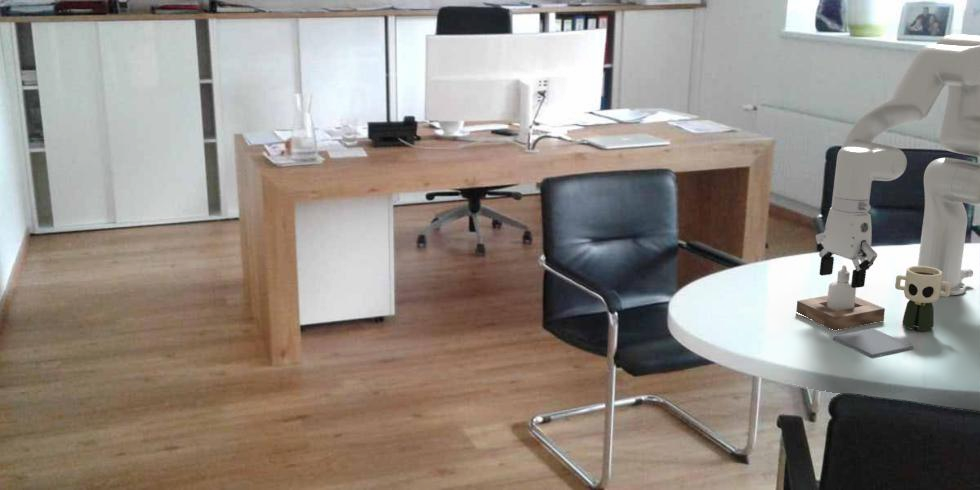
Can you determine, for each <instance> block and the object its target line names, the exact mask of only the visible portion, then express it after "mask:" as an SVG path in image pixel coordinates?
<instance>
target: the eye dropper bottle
mask: <svg viewBox="0 0 980 490" xmlns="http://www.w3.org/2000/svg"><path fill="white" fill-rule="evenodd" d="M850 273H851V272H850V271H848V269H847V265H842V268H841V270H840V269H839V271H837V279H836V281H833V282H831V283H829V286H828V292H827V296H828V300H827V307H828V308H831V309H833V310H835V311H839V310H845V309H850V308H854V304H855V297H856V294H857V293H856V292H857V288H852V287H851V282H852V281H850Z"/></svg>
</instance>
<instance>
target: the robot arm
mask: <svg viewBox="0 0 980 490" xmlns="http://www.w3.org/2000/svg"><path fill="white" fill-rule="evenodd" d="M945 86H947V87H948V88H947V89H948V92H947V100H946V105H945V109H944V113H943V118H942V119H943V120H942V124H941V128H940V135H939V143H940V146H941V147H942V148H943V149H944V150H946V151H948V152H951V153H956V154H961V155H965V156H972V157H977V158H980V35H972V34H971V35H970V34H948V35H944V36H942V37H940V38H939V39H938V40H937V42H936V44H929V45H926V46H923V47H922V48H920V49H919V50H918V51H917V52H916V54H915V55H914V57H913V59H912V60H911V62H910V64H909V66H908V68H907V69H906V71H905V73H904V75H903V76H902V77H901V79H900V82H899V83H898V85H897V86H896V89H895V90H894V91H893V93H892V95H891V97H890V98H889V99H888V100H886V101H884V102H882V103H880V104H878V105H877V106H875V107H874V108H872V109H871V110H869V111H868V112H866V113H865V114H864V115H863V116H862V117H860V118H859V119H858V120H857V121H856V122H855V124H854V125H853V126H852V127H851V128H850V130H849V133H847V136H846V137H845V139H844V141H843V143H842V145H841V148H840V149H839V150H838V152H837V156H836V163H835V164H836V165H835V173H834V181H833V191H832V200H831V207H830V208H829V211H828V214H827V217H826V223H825V225H824V231H823V232H820V233H817V234H816V235H815V240H816V244H817V245H816V247H817V249H818V252H819V254H818V255H819V257H820V265H819V266H820V267H819V272H818V273H819V275H820V276H822V277H823V276H829V275H832V274H833V269H834V261H835V257H834V256H833V255H836V256H839V257H840V258H844V259H847V260H850V261H852V264H853V266H854V268H855V269H853V270H852V276H851V281H850V282H851V287H852V288H856V289H858V288H864V287H865V283H866V277H867V276H866V274H867V270H869V269H870V267H871V266H873V264H874V262H875V261H876V259H877V257H878V253H877V252H876V251H875V250H874V249H873V248H872V233H873V232H872V230H873V229H872V227H873V226H872V218H871V216H872V215H871V214H870V213H869V211H871V207H872V206H871V205H870V199H871V189H872V182H873V181H882V182H890V181H894V180H896V179H898V178H899V177H901V176H902V175H903V174H904V172H905V171H906V168H907V165H908V161H907V157H906V154H905V153H904V152H903V151H902V149H899V148H898V147H895V146H891V145H886V144H881V143H877V142H876V143H875V142H873V141H874V140H875V139H876V138H878V136H880V135H881V134H882V133H884V132H886V131H888V130H891V129H894V128H897V127H901V126H904V125H908V124H911V123H915V122H919V121H921V120H923V119H925V118H926V117H927V116H928V115H929V113H930V112H931V109H932V107H933V106H934V104H935V102H936V101H937V98H938V97H939V95H940V93H941V92H942V90H943V89H944V87H945ZM923 188H924V190H923V191H924V210H923V211H924V213H923V219H922V220H923V222H922V227H921V228H922V229H921V235H920V246H919V253H918V260H917V261H918V263H917V266H926V267H932V268H936V269H939V270H940V271H942V281H945V282H949V283H950V284H951V288H950V295H949V296H959V295H962V294H963V293H965V292H966V288H967V285H966V284H965V283H963V280H964V279H965V278H971V277H973V276H974V271H973V270H972V269H971V268H970V269H969V268H967V269H962V265H963V256H964V248H965V242H966V235H967V234H966V233H967V226H968V214H967V210H966V208H965V205H964V204H968V205H973V206H978V207H980V162H976V161H975V162H974V161H969V160H964V159H959V158H951V157H940V158H936V159H934V160H932V161H931V162H930V163H929V164H928V165H927V166H926V168H925V170H924V174H923ZM945 288H946V286H942V285H941V289H940V292H945Z"/></svg>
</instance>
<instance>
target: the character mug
mask: <svg viewBox="0 0 980 490" xmlns="http://www.w3.org/2000/svg"><path fill="white" fill-rule="evenodd" d="M905 272H906V273H905V275H902V274H897V275H896V276H895V285H894V287H895V289H896V290H900V291H903V293H904V297H905V298H906V299H907V300H908V301H907V303H906V305H905V306H906V307H905V309H904V313H903V317H902V321H901V322H902V326H904V327H905V328H907V329H910V330H914V328H915V327H917V331H929V330H932V329H933V328H934V327H935V326H934V325H935V320H934V319H935V318H934V316H935V311H934V305H933V303H936V302H937V301H938V300H939V299H940V297H944V298H948V297H950V296H951V295H950V288H951V284H950V283H949V282H945V281H942V271H940V270H939V269H936V268H932V267H926V266H918V265H913V266H908V267H907V268H906V271H905ZM902 280H904V285H901V281H902ZM941 285H942V286H946V288H945V292H940V289H941Z"/></svg>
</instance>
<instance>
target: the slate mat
mask: <svg viewBox="0 0 980 490" xmlns="http://www.w3.org/2000/svg"><path fill="white" fill-rule="evenodd" d="M832 339H833V340H834V339H835V340H834V341H836V340H837V342H839V343H841V344H843V345H845V346H848V347H850V348H852V349H853V348H854V349H853V350H856V351H858V352H861V353H862V354H864V355H867V356H869V357H870V358H875V357H880V355H881V356H884V355H889V353H890V354H894V353H893V352H895V353H899V352H903V351H902V350H904V351H907V349H909V350H913V349H914V345H912V344H910V343H907V342H905V341H903V340H901V339H899V338H895V337H893V336H891V335H889V334H887V333H886V332H885V333H884V332H882V331H880V330H878V329H876V328H867V329H863V330H859V331H854V332H848V333H844V334H842V333H841V334H839V335H834V336H833V338H832ZM898 351H899V352H898Z"/></svg>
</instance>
